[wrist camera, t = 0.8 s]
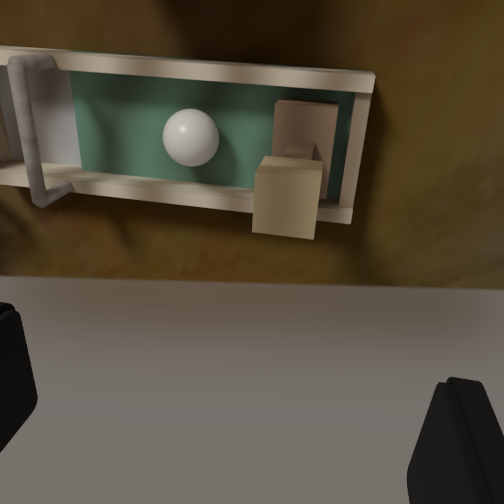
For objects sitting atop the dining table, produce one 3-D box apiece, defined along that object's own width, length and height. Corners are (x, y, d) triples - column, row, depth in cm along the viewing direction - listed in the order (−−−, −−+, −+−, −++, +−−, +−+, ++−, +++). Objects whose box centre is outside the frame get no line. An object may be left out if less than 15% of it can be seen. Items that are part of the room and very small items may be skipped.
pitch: (371, 71, 30) (380, 83, 24) (349, 207, 35) (351, 248, 28) (-22, 43, 34) (-108, 47, 28) (4, 169, 39) (-64, 197, 32)
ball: (225, 107, 32) (211, 116, 29) (224, 160, 34) (211, 176, 31) (172, 102, 33) (152, 111, 29) (174, 155, 35) (155, 170, 31)
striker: (338, 101, 30) (337, 146, 19) (327, 185, 33) (320, 268, 22) (280, 97, 31) (245, 138, 20) (274, 179, 34) (240, 257, 22)
